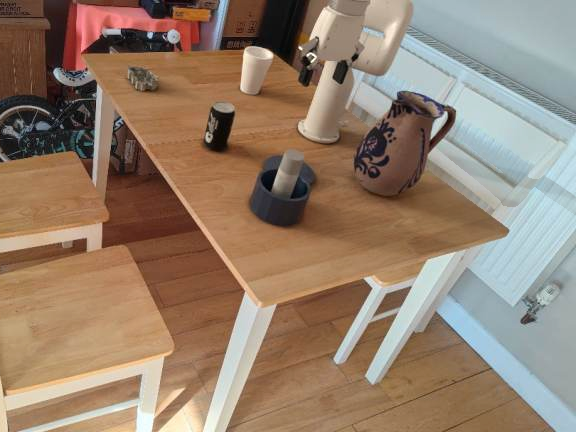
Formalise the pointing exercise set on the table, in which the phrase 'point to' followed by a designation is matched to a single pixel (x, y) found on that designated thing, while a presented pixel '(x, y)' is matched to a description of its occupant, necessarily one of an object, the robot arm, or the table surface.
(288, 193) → the container
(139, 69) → the egg carton
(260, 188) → the tin
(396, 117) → the ceramic pitcher
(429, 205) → the table surface
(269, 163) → the lid
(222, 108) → the beverage can
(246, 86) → the foam cup
